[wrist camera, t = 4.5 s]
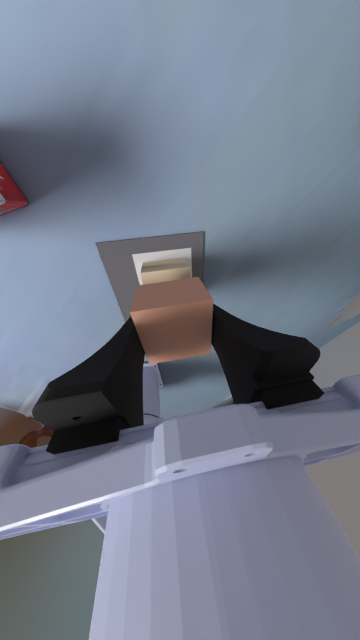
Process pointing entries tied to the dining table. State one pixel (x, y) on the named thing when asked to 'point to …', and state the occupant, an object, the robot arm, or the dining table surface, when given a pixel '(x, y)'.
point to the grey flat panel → (130, 254)
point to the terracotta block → (173, 319)
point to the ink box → (9, 193)
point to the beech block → (164, 270)
